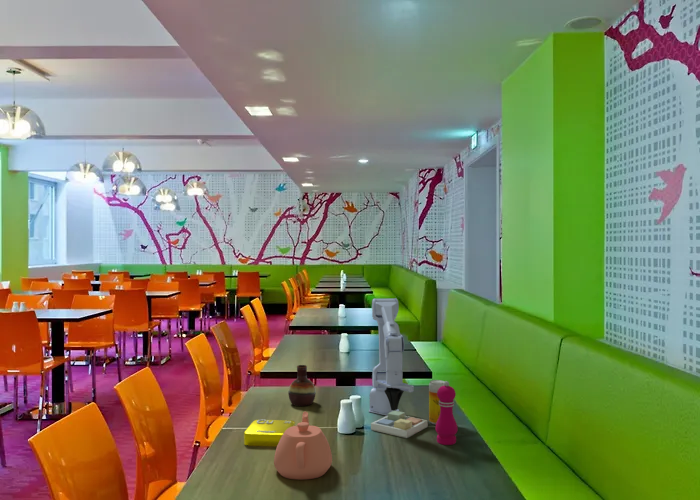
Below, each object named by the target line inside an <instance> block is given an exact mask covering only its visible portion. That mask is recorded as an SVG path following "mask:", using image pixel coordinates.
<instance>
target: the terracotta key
mask: <svg viewBox="0 0 700 500" xmlns="http://www.w3.org/2000/svg"><path fill="white" fill-rule="evenodd" d="M412 417H413V416H410V418H408V419H406V420H409V421H412V425H414V426H415V425H417V424H419V423H420V422H422V419H423V418H419V419H417V418H418V417H414V418H412Z"/></svg>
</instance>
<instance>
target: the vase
mask: <svg viewBox="0 0 700 500" xmlns="http://www.w3.org/2000/svg"><path fill="white" fill-rule="evenodd" d="M307 370H308V365H306V364H298V365H297V366H296V372H297V375H296V376H297V378H295V379H294V380H293V381H292V382H291V383H290V385H289V388H288V398H289V401H290V403H291V404H292V405H293V406H295V407H307V406H310V405H312V404H313V402H314V401H315V399H316V386H315V384H314V382H312V381H311V380H310V379H309V378H308V377H307V376H308V375H307V372H308V371H307Z"/></svg>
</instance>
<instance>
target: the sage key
mask: <svg viewBox="0 0 700 500" xmlns="http://www.w3.org/2000/svg"><path fill="white" fill-rule="evenodd" d="M405 416H406V413H405V412H403V411H400V410H399V411H392V412H390V413H388V420H393V421H397V420H399V419H405Z"/></svg>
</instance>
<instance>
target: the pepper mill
mask: <svg viewBox="0 0 700 500" xmlns="http://www.w3.org/2000/svg"><path fill="white" fill-rule="evenodd" d="M456 393H457V392H456V390H455V388H454V387H453V386H450V382H449V381H447V380H445V381H444V386H441V387H440V388H439V389H438V391H437V396H438V398H439V399H440V400H439V405H440V416H439V418H438V420H437V422H436V425H435V429H434V430H435V432H436V434H437V435H436V442H437V443H438V444H439V445H443V446H452V445H455V444H456V442H457V436H456V434H457V433H458V428H459V427H458V424H457V422H456V419H455V416H454V414H453V413H454V412H453V407H454V406H455V401H454V400H455V398H456V396H457V394H456Z"/></svg>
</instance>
